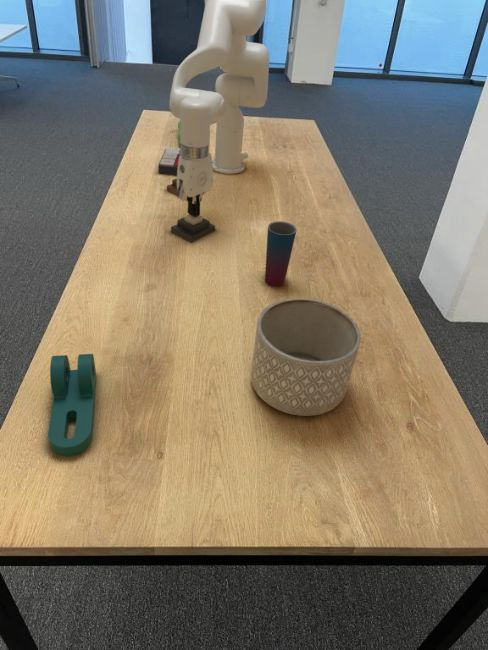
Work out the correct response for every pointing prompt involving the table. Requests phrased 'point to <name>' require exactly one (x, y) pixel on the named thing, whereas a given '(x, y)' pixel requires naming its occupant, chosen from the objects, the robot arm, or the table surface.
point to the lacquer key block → (192, 229)
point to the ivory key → (193, 219)
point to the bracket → (72, 403)
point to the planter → (303, 355)
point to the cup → (278, 251)
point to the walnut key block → (173, 187)
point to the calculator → (169, 162)
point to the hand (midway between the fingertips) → (193, 214)
